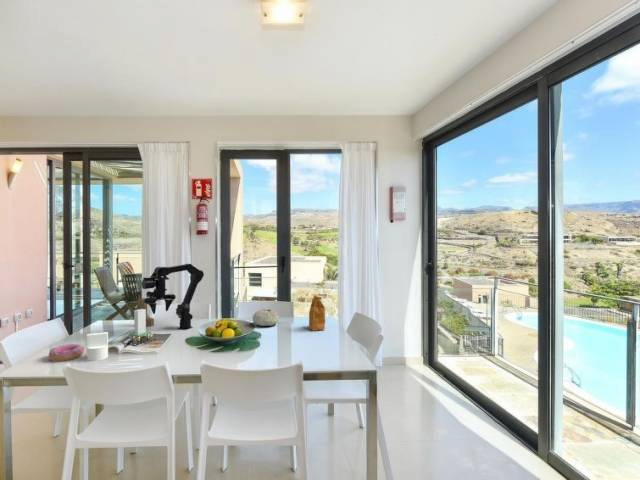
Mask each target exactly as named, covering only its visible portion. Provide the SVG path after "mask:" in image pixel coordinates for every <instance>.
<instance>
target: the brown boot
mask: <svg viewBox="0 0 640 480" xmlns="http://www.w3.org/2000/svg"><path fill="white" fill-rule="evenodd" d="M145 298H146V297H145ZM145 298H139V299H137V310H139V309H146V327H152V326H154V325H155V319H154V318H153V317H150V316H149V315H148V304H146V303H144V299H145Z"/></svg>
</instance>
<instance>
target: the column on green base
mask: <svg viewBox="0 0 640 480" xmlns="http://www.w3.org/2000/svg"><path fill="white" fill-rule="evenodd" d="M133 314H134V315H133V316H134V317H133V318H134V322H133V323H134V326H133V327H134V330H133V332H129V333H128V335H129V336H130V335H131V336H133V337H141V336H147V335H148V334H150V335H151V334H152V332H151V331H148V330H147V329H146V327H147V326H146V309H139V310H138V309H134V310H133Z"/></svg>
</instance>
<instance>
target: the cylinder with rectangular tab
mask: <svg viewBox="0 0 640 480" xmlns="http://www.w3.org/2000/svg"><path fill="white" fill-rule="evenodd" d="M108 357H109V332H108V331H104V332H95V333H94V332H93V333H87V334H86V361H89V362H95V361H101V360H104V359H107V358H108Z"/></svg>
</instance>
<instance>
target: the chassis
mask: <svg viewBox="0 0 640 480" xmlns="http://www.w3.org/2000/svg"><path fill="white" fill-rule="evenodd" d="M150 335H151V334H148V335H144V336H141V337H137V339H136V340H134V341H132V342H130V343H132V344H136V345H139V344H142V343H145V342H149V341H152V340H156V341H157V338H156V337H153V336H151V337H150ZM133 338H134V336H131V335H129V339H133ZM149 343H150V342H149Z"/></svg>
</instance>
